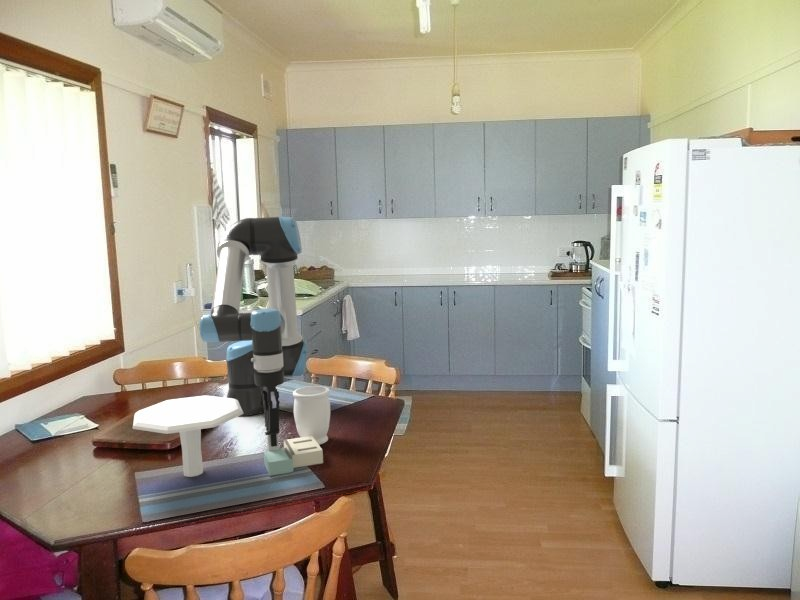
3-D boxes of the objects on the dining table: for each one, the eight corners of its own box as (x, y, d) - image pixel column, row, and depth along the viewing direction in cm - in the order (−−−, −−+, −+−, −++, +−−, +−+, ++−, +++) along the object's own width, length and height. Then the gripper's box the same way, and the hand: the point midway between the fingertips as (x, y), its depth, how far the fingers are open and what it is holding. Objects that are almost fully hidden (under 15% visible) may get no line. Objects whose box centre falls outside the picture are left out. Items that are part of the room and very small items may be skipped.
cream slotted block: (284, 452, 175) (283, 439, 174) (312, 447, 178) (312, 435, 177) (292, 468, 164) (292, 454, 163) (323, 462, 166) (322, 449, 166)
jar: (325, 448, 177) (322, 396, 175) (289, 447, 179) (286, 395, 177) (336, 435, 187) (334, 385, 185) (303, 434, 189) (300, 385, 187)
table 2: (161, 453, 177) (156, 395, 175) (261, 451, 176) (257, 392, 174) (113, 498, 149) (106, 429, 147) (231, 496, 148) (226, 427, 146)
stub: (264, 464, 166) (263, 451, 166) (287, 460, 168) (286, 447, 168) (269, 475, 159) (268, 462, 158) (293, 471, 161) (292, 458, 160)
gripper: (250, 365, 169) (255, 450, 172) (257, 376, 157) (263, 467, 160) (278, 362, 172) (283, 446, 175) (287, 372, 160) (292, 462, 163)
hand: (273, 456), depth 168 cm, fingers closed
